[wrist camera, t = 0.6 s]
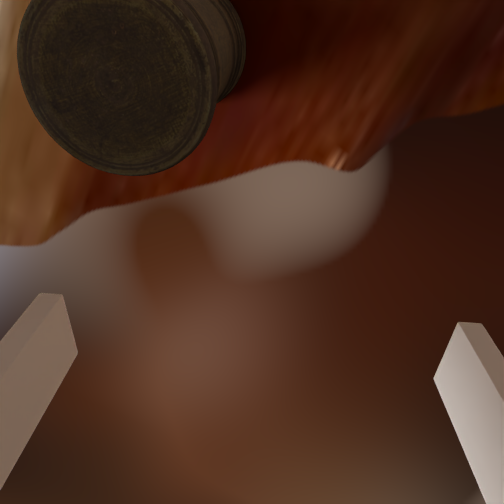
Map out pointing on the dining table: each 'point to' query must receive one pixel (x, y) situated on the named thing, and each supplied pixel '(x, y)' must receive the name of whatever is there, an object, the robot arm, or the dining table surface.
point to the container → (129, 76)
